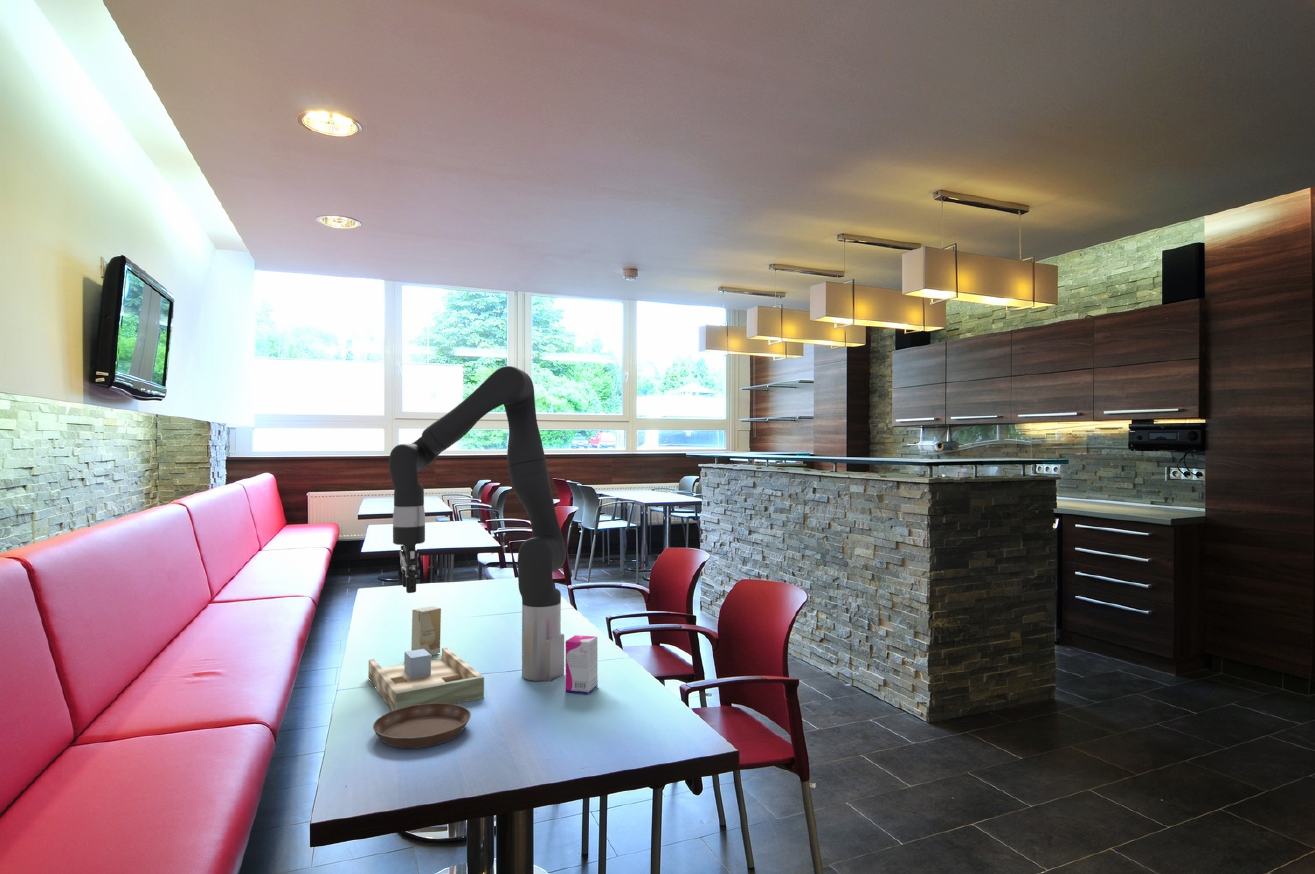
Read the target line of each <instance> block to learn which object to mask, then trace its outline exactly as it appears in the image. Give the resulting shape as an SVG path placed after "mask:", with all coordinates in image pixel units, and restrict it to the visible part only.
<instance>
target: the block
mask: <svg viewBox="0 0 1315 874" xmlns="http://www.w3.org/2000/svg"><path fill="white" fill-rule="evenodd" d="M403 654H404V659H403V660H404V664H403V665H404V671H405V672H406V673H407V674H408V675H409V676H410V678H413V677H419V676H425V675H430V674H431V660H432V656H431V654H429V653H428V652H427V651H426V650H425V649H419V650H413V651H411V650H409V651H408V650H407V651H406V650H405V651H404V653H403Z"/></svg>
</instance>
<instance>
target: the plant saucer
mask: <svg viewBox="0 0 1315 874" xmlns="http://www.w3.org/2000/svg"><path fill="white" fill-rule="evenodd" d="M471 716H472V715H471V711H470V709H468V708H467V707H464V706H462V705H459V704H446V703H429V704H419V705H413V706H408V707H404V708H400V709H397V710H394V711H392V710H391V711H389V712H387V713H385V714H383V715H380V717H379V718H377V719H376V720H375V721H374V723H372V729H373V731H374V733H375V735H376V736H377V737H378V738H379V739H380V740H381V741H382V742H384V743H385V745H386V744H387V745H389V746H390V747H394V748H398V749H421V748H422V749H423V748H428V747H433V746H437V745H440V744H444V743H446V742H449V741H451V740H452V739H455V738H456V737H457V736H459V734H461V732H462V731H463V730H464V729H465V727H466V726H467V724H468V722H469V721H470V719H471Z"/></svg>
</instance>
